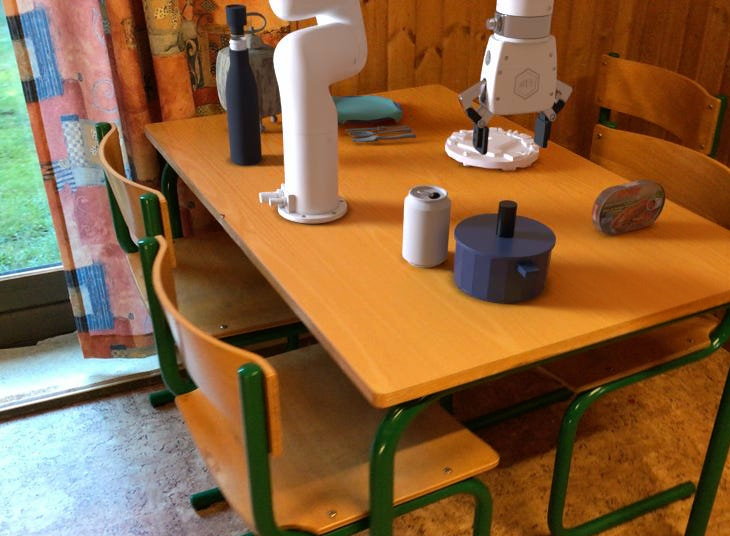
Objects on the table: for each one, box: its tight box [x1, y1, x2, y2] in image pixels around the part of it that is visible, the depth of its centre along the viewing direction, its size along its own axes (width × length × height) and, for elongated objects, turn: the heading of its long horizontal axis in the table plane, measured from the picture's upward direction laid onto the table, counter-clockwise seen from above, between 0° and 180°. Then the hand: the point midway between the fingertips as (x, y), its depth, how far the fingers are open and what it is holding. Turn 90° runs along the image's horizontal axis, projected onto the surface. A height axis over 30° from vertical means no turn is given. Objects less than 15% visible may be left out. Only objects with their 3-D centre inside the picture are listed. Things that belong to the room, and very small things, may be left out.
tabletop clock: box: [215, 11, 282, 134], centre depth 184 cm, size 14×9×25 cm, turn 122°
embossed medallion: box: [444, 127, 540, 172], centre depth 180 cm, size 20×20×3 cm
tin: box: [591, 179, 666, 236], centre depth 149 cm, size 15×3×8 cm, turn 117°
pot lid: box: [453, 199, 557, 261], centre depth 128 cm, size 16×16×6 cm
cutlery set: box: [331, 94, 417, 144], centre depth 196 cm, size 20×30×2 cm, turn 15°
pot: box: [453, 241, 553, 304], centre depth 132 cm, size 15×20×8 cm
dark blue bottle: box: [224, 3, 263, 167], centre depth 166 cm, size 6×6×30 cm
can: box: [401, 184, 452, 269], centre depth 136 cm, size 8×8×12 cm
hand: (510, 148), depth 124 cm, fingers open, 9 cm apart
